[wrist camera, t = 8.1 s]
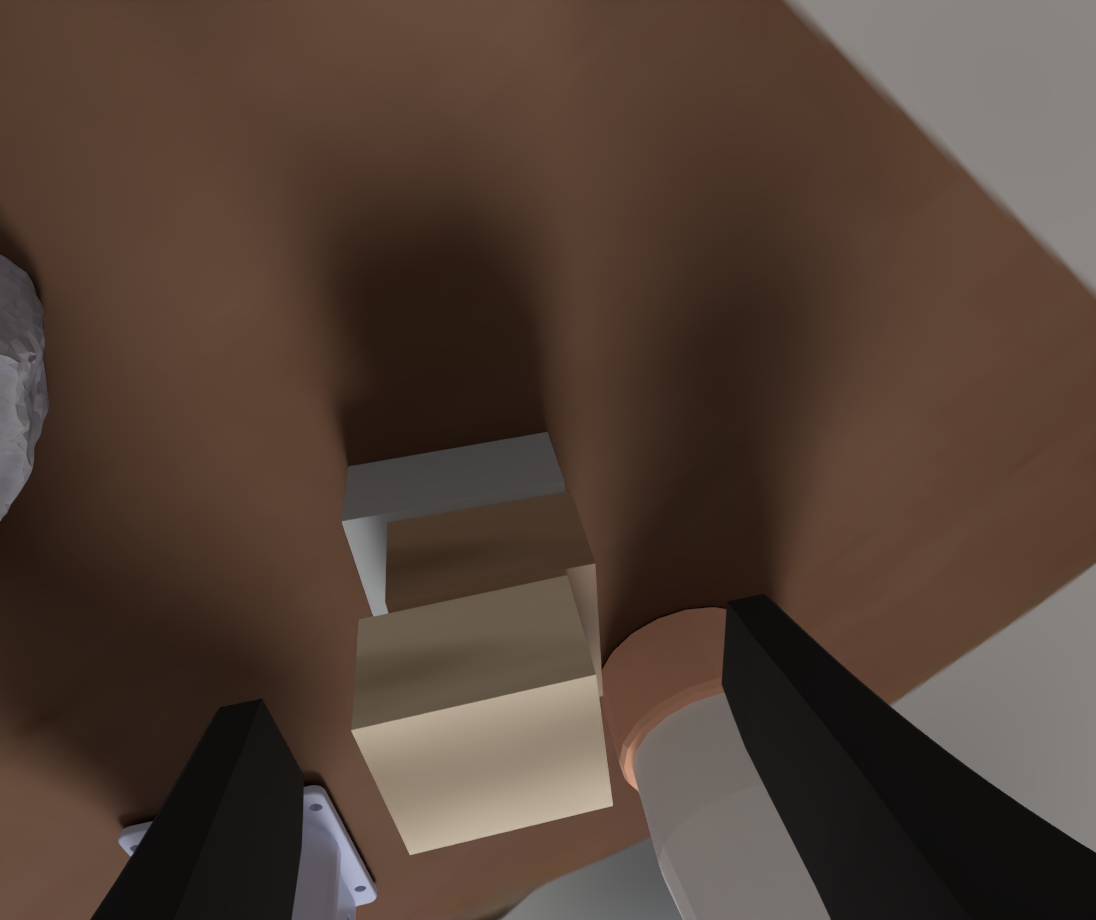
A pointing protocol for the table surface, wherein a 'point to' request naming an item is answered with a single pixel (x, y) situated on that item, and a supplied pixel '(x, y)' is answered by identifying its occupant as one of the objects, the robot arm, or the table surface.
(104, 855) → the table surface
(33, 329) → the stone block
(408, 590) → the walnut block
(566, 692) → the oak block
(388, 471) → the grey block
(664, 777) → the pepper shaker
